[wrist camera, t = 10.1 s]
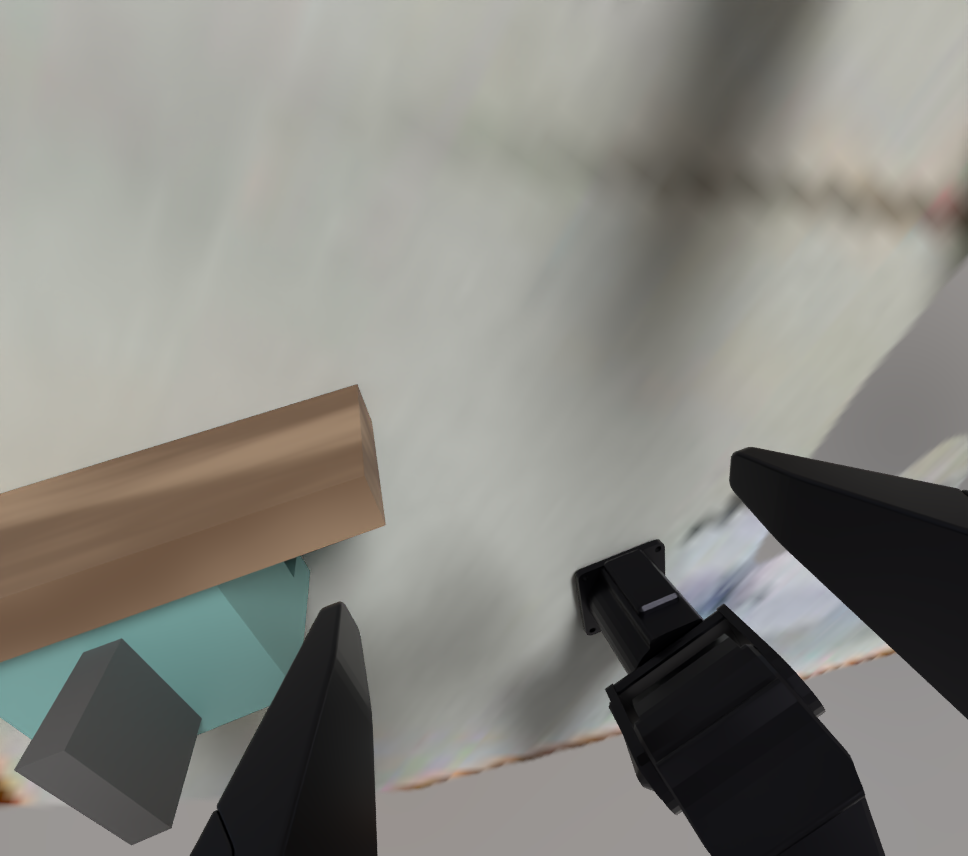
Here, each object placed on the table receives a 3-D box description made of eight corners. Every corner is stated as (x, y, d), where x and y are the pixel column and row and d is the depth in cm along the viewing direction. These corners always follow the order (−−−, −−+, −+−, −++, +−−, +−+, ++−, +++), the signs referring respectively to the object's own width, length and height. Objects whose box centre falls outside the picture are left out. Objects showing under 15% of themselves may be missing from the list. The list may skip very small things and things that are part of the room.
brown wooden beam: (400, 496, 23) (425, 616, 16) (-16, 641, 20) (-198, 860, 14) (357, 384, 20) (364, 475, 13) (-144, 538, 17) (-467, 756, 10)
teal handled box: (310, 571, 24) (289, 792, 15) (155, 628, 23) (31, 904, 14) (252, 474, 21) (181, 681, 12) (69, 534, 20) (-167, 815, 10)
